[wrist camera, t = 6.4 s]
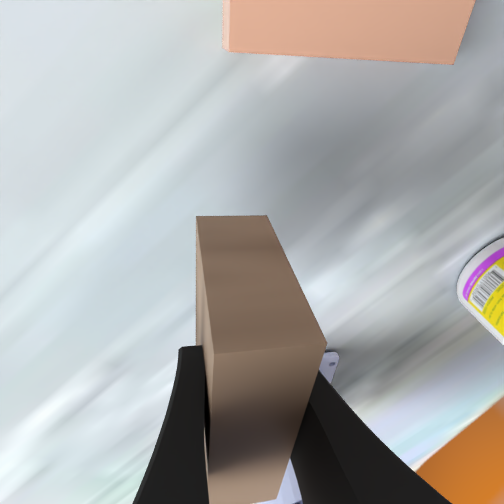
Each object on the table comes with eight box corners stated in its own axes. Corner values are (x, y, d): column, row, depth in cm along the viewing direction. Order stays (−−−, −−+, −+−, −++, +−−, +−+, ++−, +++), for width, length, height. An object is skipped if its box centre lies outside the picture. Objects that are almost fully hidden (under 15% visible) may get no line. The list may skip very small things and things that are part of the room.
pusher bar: (246, 363, 16) (276, 499, 12) (195, 369, 16) (206, 513, 11) (266, 215, 12) (327, 343, 7) (195, 216, 11) (213, 354, 7)
